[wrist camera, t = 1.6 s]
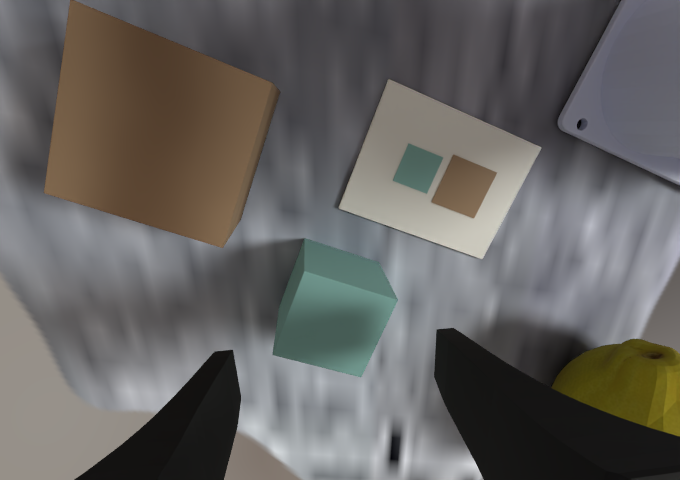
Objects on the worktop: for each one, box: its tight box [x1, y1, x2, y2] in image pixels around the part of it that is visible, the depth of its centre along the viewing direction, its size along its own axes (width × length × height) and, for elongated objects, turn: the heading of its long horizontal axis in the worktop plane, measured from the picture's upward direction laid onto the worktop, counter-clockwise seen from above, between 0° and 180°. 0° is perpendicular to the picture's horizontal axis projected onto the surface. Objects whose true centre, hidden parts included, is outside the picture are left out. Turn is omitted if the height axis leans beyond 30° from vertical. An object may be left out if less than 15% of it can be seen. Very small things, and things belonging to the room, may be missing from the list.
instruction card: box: [338, 79, 542, 259], centre depth 17 cm, size 8×6×1 cm
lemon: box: [551, 339, 680, 436], centre depth 18 cm, size 11×8×8 cm
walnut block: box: [44, 0, 280, 248], centre depth 13 cm, size 6×6×4 cm
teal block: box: [273, 238, 398, 377], centre depth 16 cm, size 4×4×4 cm
